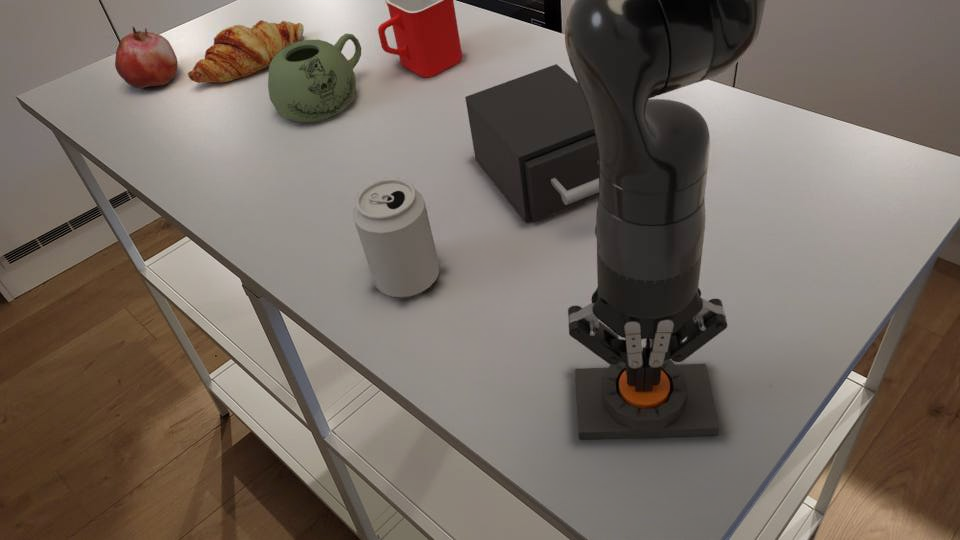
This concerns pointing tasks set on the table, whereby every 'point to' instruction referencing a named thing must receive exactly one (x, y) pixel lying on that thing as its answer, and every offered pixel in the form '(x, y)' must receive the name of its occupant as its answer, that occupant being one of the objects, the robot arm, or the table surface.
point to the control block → (617, 419)
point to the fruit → (145, 59)
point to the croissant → (244, 50)
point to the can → (396, 237)
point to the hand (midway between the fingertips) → (642, 383)
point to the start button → (645, 393)
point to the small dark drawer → (562, 177)
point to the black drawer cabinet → (525, 127)
